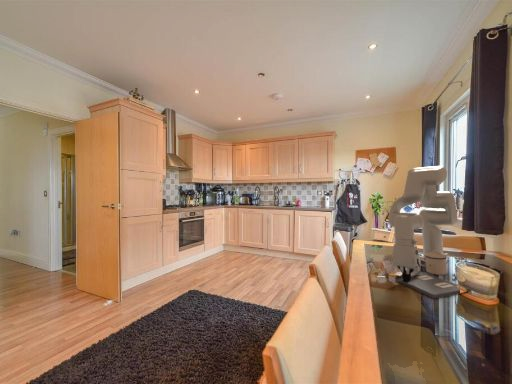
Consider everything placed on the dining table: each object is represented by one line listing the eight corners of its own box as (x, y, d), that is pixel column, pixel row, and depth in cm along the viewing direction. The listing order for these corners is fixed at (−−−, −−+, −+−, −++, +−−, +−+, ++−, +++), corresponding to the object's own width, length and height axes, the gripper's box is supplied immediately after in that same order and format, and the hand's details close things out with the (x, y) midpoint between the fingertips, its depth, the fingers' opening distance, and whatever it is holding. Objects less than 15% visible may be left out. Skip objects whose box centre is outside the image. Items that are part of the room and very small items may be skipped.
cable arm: (413, 270, 117) (413, 264, 117) (421, 272, 114) (421, 266, 114) (388, 281, 107) (387, 274, 107) (396, 283, 103) (395, 276, 103)
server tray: (422, 274, 117) (422, 270, 117) (468, 292, 97) (468, 287, 97) (393, 279, 114) (393, 275, 114) (434, 298, 93) (433, 293, 93)
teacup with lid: (445, 270, 121) (444, 248, 121) (448, 276, 113) (447, 253, 113) (418, 267, 127) (417, 247, 127) (419, 273, 120) (418, 251, 120)
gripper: (427, 243, 100) (429, 284, 100) (392, 238, 113) (394, 274, 113) (419, 246, 96) (421, 289, 96) (383, 240, 109) (385, 278, 109)
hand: (406, 281), depth 104 cm, fingers closed
